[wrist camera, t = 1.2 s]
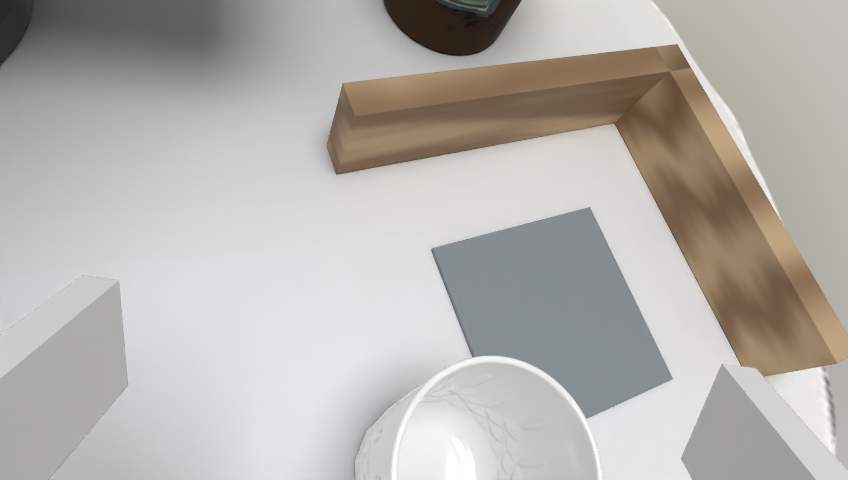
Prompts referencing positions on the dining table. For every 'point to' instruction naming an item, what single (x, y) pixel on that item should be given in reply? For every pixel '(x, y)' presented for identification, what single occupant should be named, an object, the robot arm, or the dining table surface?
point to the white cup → (482, 428)
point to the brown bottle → (452, 22)
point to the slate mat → (554, 308)
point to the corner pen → (656, 159)
